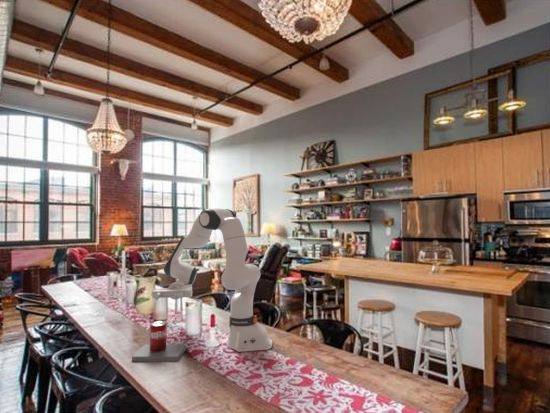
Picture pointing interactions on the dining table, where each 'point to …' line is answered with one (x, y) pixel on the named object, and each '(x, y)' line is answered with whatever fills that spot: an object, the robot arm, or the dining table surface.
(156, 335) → the soda can
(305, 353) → the dining table surface
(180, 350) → the serving board
